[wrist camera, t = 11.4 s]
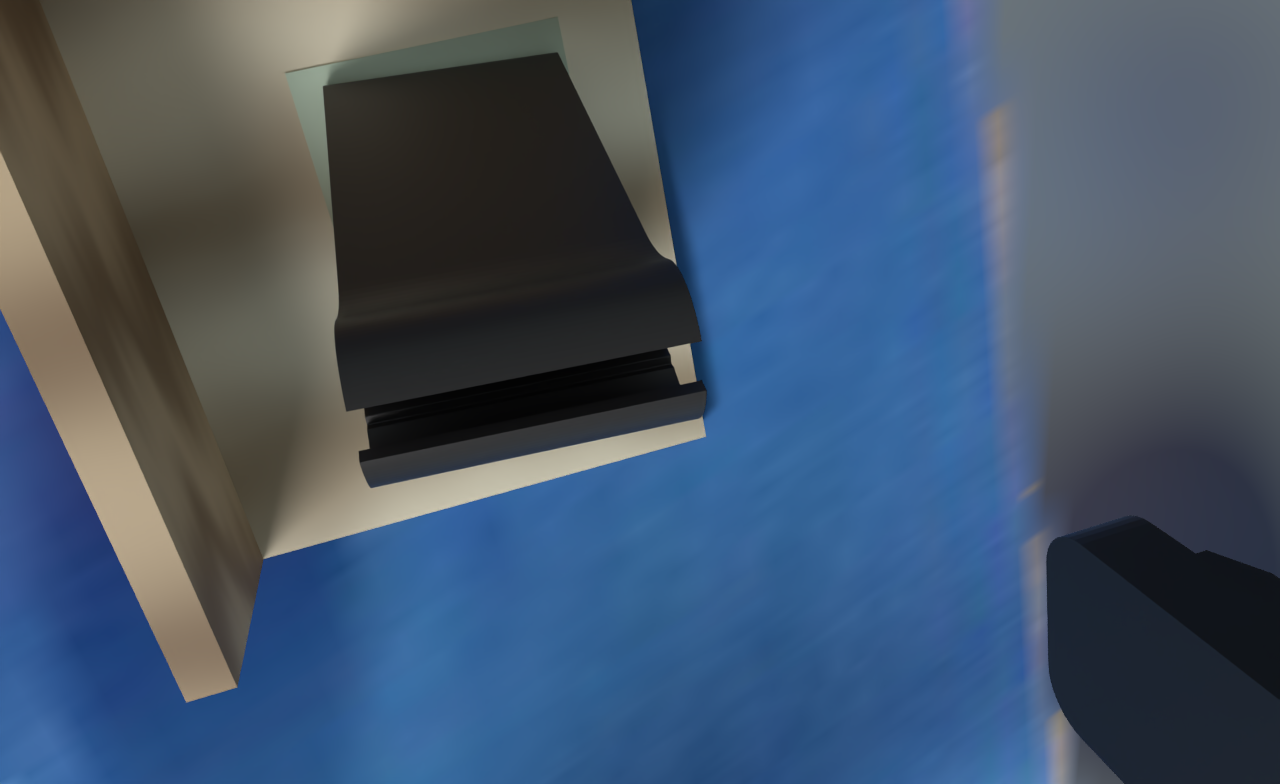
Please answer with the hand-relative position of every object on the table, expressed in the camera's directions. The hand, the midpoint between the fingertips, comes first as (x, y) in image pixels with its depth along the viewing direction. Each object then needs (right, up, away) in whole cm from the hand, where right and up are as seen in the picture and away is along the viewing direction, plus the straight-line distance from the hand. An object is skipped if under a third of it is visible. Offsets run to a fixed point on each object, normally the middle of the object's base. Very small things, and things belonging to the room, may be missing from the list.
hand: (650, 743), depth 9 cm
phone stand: (-5, +7, +19) cm, 21 cm away
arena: (-7, +8, +19) cm, 21 cm away
